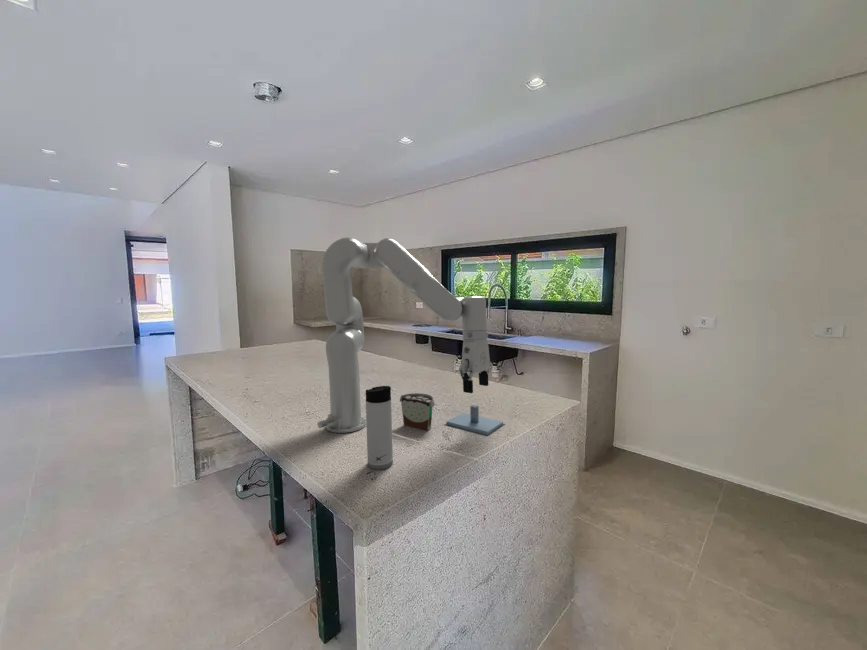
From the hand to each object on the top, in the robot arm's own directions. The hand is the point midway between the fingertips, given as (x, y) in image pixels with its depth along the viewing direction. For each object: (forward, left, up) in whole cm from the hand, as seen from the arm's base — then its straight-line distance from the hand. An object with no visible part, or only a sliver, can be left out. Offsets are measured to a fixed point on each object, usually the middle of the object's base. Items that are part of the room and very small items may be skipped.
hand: (476, 388), depth 114 cm
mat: (0, 0, -12) cm, 12 cm away
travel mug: (-36, +6, -12) cm, 39 cm away
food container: (-10, +14, -12) cm, 22 cm away
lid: (0, 0, -12) cm, 12 cm away
